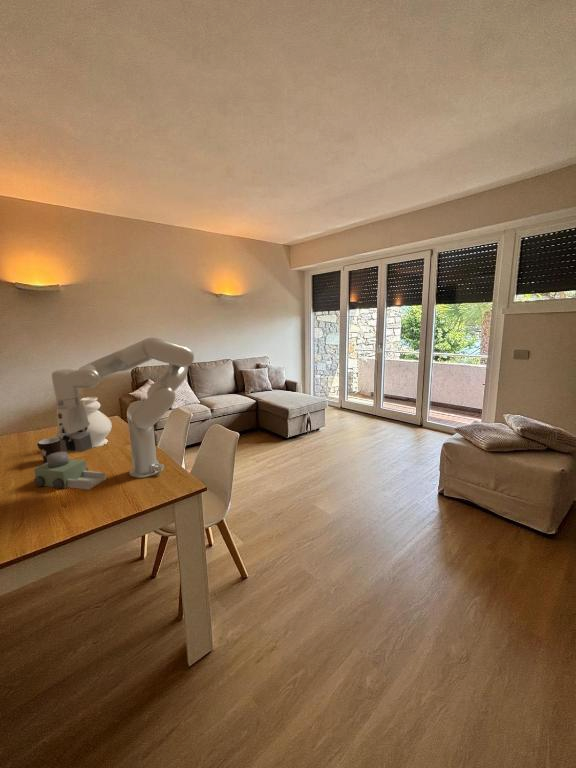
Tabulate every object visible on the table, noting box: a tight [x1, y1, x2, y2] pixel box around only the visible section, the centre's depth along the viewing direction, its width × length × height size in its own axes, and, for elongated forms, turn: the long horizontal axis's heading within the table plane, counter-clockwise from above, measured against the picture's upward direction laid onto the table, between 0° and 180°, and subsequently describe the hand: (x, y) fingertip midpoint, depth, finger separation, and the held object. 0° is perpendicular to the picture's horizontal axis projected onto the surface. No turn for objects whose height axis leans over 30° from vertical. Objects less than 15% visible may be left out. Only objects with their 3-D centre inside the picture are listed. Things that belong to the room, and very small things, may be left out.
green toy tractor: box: [33, 451, 107, 491], centre depth 134 cm, size 24×13×11 cm, turn 78°
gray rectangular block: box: [60, 432, 92, 453], centre depth 127 cm, size 9×5×6 cm, turn 79°
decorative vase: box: [80, 396, 113, 449], centre depth 174 cm, size 18×18×25 cm
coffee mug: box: [37, 436, 62, 464], centre depth 155 cm, size 12×9×10 cm
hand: (77, 446), depth 128 cm, fingers closed on gray rectangular block, 5 cm apart
